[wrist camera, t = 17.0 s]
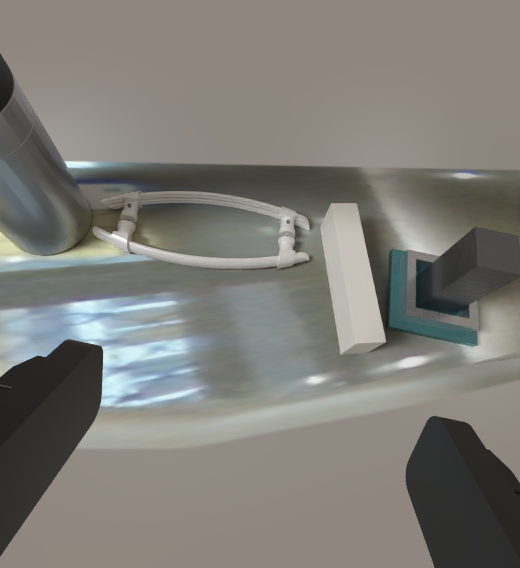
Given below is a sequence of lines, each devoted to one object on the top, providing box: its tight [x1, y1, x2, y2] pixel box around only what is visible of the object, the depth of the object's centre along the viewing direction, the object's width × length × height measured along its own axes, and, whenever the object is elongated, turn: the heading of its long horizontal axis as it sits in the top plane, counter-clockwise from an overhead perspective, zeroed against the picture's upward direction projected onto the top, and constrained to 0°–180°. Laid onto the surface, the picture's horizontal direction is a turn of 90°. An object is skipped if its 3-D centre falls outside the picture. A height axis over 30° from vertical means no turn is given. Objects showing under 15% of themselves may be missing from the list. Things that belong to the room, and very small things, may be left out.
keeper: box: [386, 249, 479, 346], centre depth 41 cm, size 10×10×3 cm
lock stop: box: [416, 227, 520, 315], centre depth 37 cm, size 4×4×11 cm
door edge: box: [320, 203, 386, 354], centre depth 40 cm, size 16×3×5 cm, turn 4°
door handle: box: [92, 191, 310, 269], centre depth 43 cm, size 3×10×25 cm
